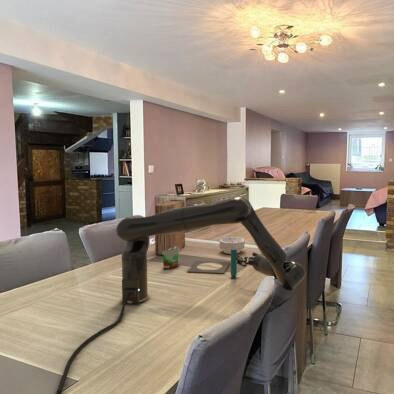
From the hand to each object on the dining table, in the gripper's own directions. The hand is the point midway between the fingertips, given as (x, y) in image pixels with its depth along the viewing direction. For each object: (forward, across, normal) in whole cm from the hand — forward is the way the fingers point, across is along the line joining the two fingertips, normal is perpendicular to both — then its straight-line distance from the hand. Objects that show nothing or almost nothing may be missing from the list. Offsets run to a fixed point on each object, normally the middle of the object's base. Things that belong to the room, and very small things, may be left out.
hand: (245, 255), depth 150 cm
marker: (+10, 0, +13) cm, 16 cm away
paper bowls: (+51, -22, +13) cm, 57 cm away
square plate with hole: (+30, +3, +13) cm, 33 cm away
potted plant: (+42, +18, +13) cm, 47 cm away
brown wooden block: (+75, +7, +13) cm, 76 cm away
